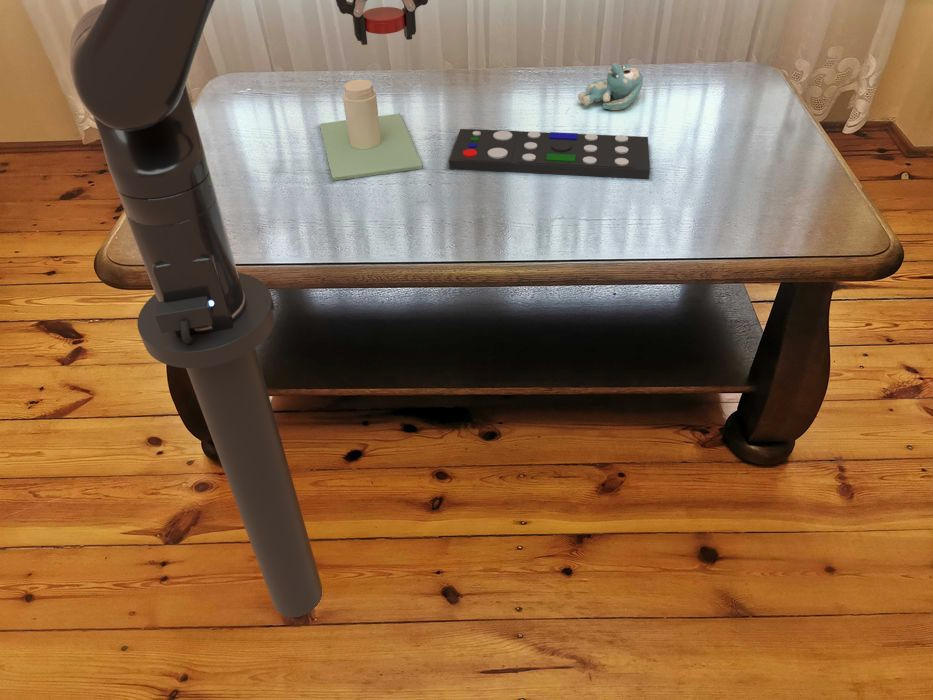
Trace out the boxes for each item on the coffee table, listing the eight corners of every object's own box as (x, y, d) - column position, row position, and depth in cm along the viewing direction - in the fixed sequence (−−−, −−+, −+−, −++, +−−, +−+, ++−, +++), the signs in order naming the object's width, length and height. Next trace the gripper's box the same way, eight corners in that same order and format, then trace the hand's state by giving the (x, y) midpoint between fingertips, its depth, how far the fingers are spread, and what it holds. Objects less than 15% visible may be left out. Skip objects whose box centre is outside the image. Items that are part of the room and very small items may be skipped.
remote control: (460, 137, 124) (460, 125, 123) (646, 145, 120) (648, 133, 119) (449, 168, 116) (448, 157, 115) (648, 178, 112) (650, 166, 111)
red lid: (367, 20, 105) (366, 6, 104) (407, 20, 105) (407, 6, 104) (360, 34, 101) (358, 20, 100) (402, 34, 101) (401, 20, 100)
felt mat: (423, 168, 116) (422, 165, 116) (332, 181, 114) (332, 177, 113) (400, 116, 131) (399, 113, 130) (320, 126, 128) (319, 123, 128)
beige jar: (385, 145, 121) (379, 87, 115) (354, 152, 120) (347, 94, 113) (375, 132, 125) (368, 76, 119) (345, 139, 123) (337, 82, 117)
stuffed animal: (563, 67, 132) (623, 43, 133) (568, 104, 137) (625, 81, 138) (594, 89, 124) (656, 63, 126) (597, 127, 129) (657, 102, 131)
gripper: (423, -109, 97) (430, 26, 108) (312, -100, 94) (330, 37, 105) (437, -98, 92) (442, 43, 103) (319, -88, 89) (338, 55, 100)
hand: (385, 40), depth 104 cm, fingers closed on red lid, 5 cm apart
